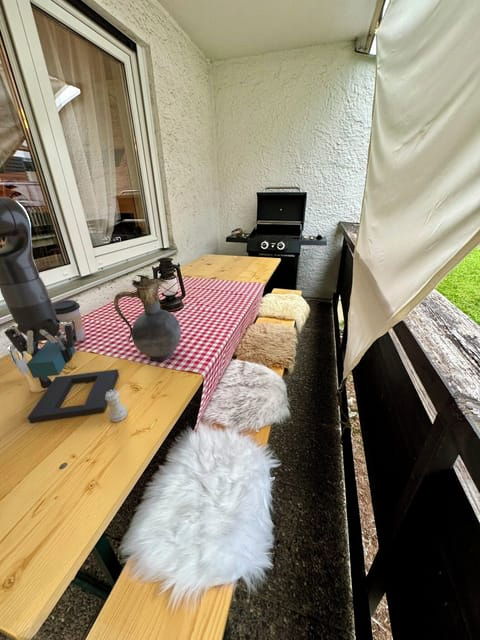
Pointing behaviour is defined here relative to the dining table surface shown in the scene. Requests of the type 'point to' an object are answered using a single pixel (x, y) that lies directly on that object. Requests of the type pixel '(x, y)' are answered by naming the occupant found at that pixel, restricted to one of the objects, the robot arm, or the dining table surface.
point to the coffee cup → (70, 316)
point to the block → (47, 361)
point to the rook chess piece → (115, 406)
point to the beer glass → (21, 363)
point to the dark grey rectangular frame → (59, 389)
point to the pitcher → (151, 321)
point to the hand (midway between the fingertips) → (55, 361)
